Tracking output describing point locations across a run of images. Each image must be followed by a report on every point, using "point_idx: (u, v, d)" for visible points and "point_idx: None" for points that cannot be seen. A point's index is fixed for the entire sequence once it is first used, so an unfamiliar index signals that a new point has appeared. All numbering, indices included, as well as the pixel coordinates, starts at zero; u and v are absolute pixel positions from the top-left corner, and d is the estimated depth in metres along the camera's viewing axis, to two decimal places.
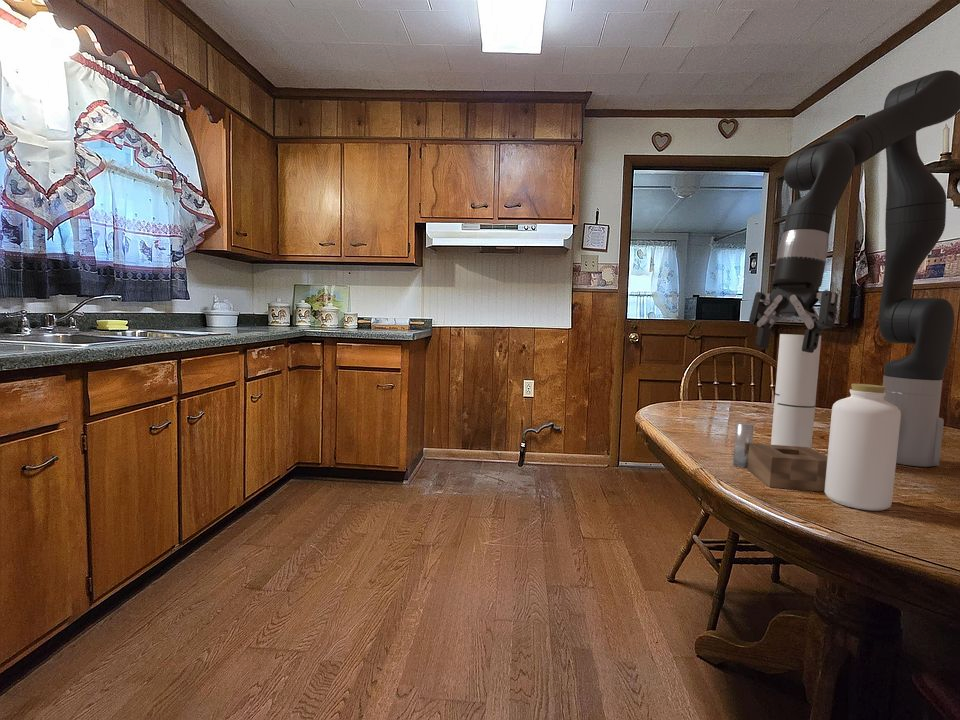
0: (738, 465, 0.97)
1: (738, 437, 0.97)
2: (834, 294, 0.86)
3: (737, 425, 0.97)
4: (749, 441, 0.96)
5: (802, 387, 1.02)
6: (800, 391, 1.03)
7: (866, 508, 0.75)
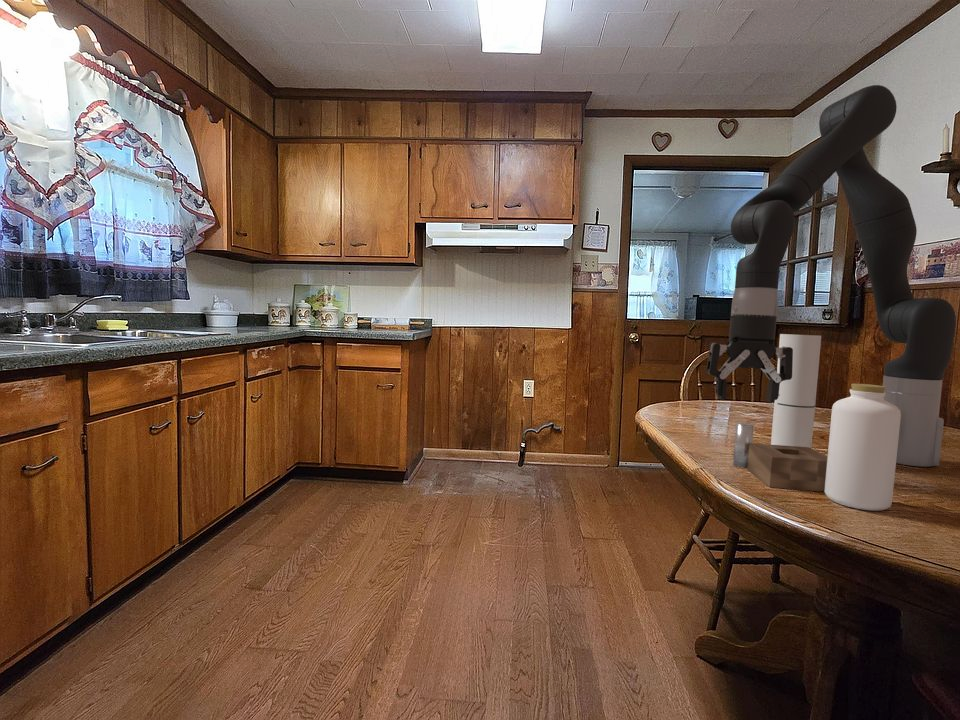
0: (738, 465, 0.97)
1: (738, 437, 0.97)
2: None
3: (737, 425, 0.97)
4: (749, 441, 0.96)
5: (802, 387, 1.02)
6: (800, 391, 1.03)
7: (866, 508, 0.75)
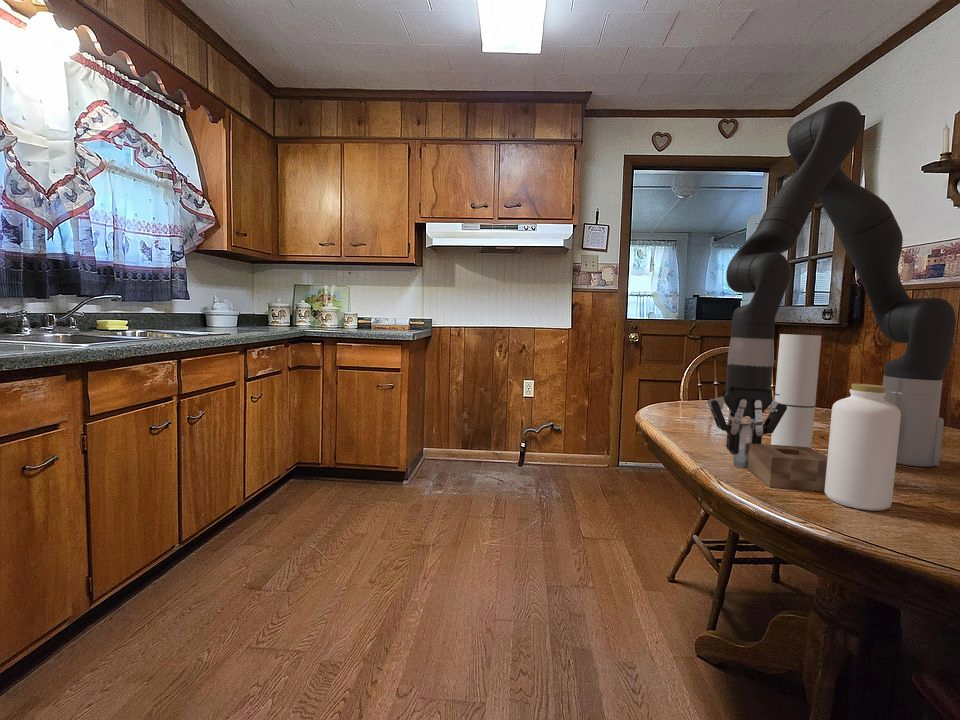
0: (738, 465, 0.97)
1: (738, 436, 0.97)
2: None
3: None
4: (749, 441, 0.96)
5: (802, 387, 1.02)
6: (800, 391, 1.03)
7: (866, 508, 0.75)
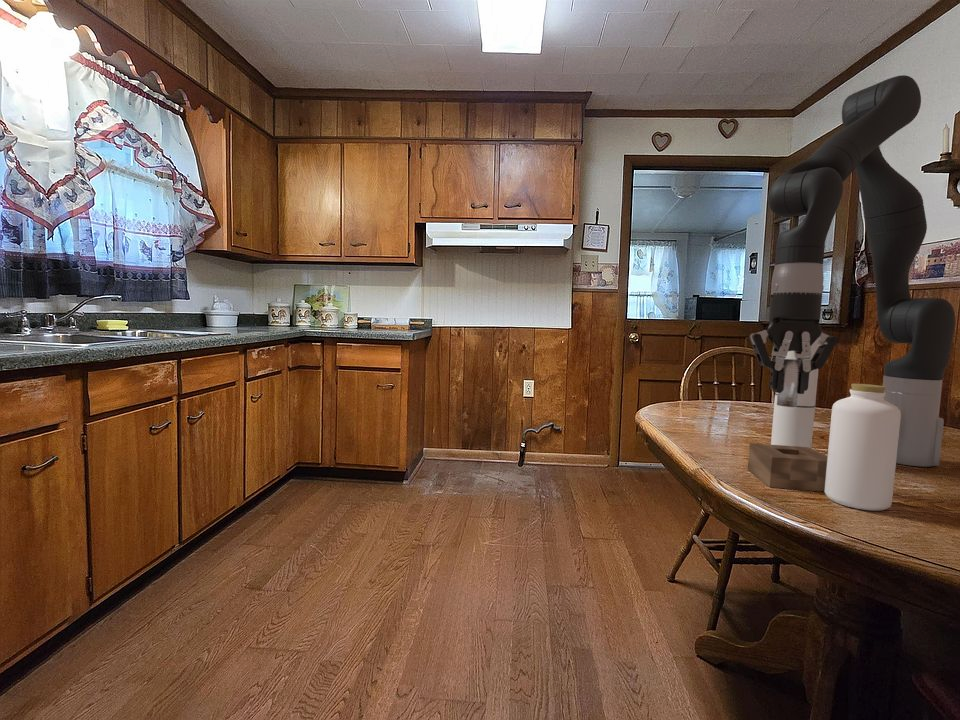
0: (783, 404, 0.89)
1: (783, 373, 0.89)
2: None
3: None
4: (795, 377, 0.88)
5: None
6: None
7: (866, 508, 0.75)
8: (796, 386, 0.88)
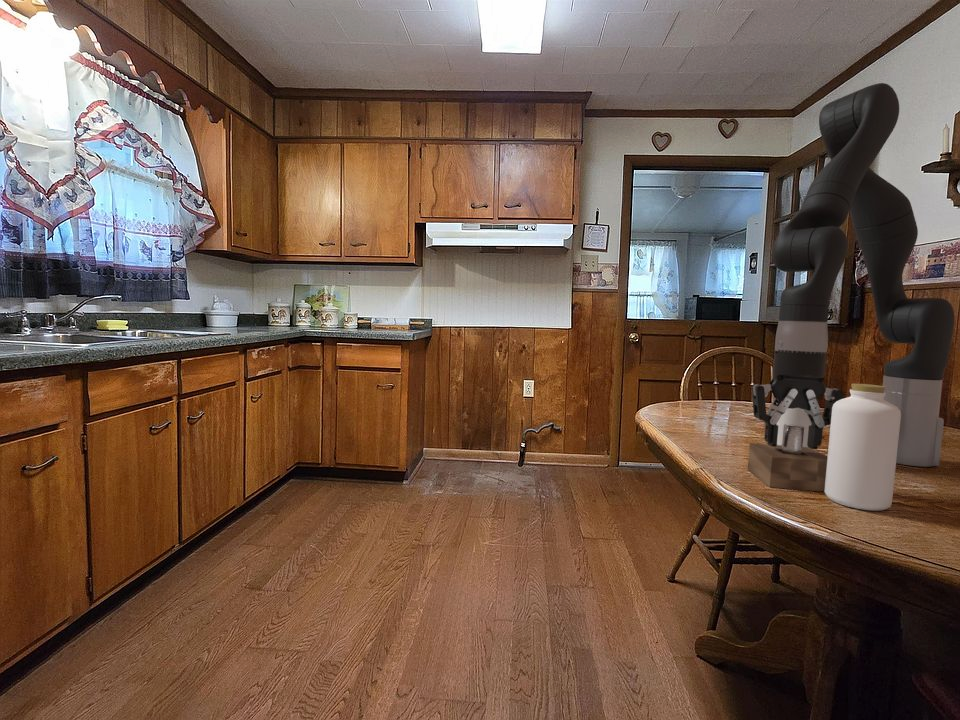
0: None
1: (786, 440, 0.88)
2: None
3: (785, 427, 0.89)
4: (799, 445, 0.88)
5: None
6: None
7: (866, 508, 0.75)
8: (799, 453, 0.88)
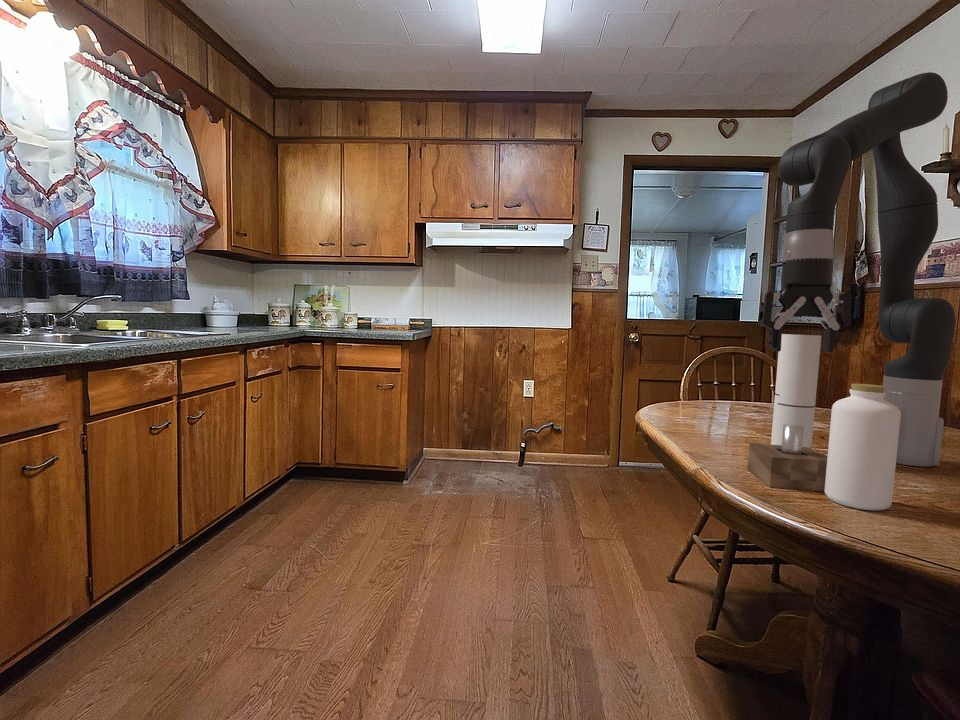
0: None
1: (786, 440, 0.88)
2: None
3: (785, 427, 0.89)
4: (799, 445, 0.88)
5: (802, 387, 1.02)
6: (800, 391, 1.03)
7: (866, 508, 0.75)
8: (799, 453, 0.88)
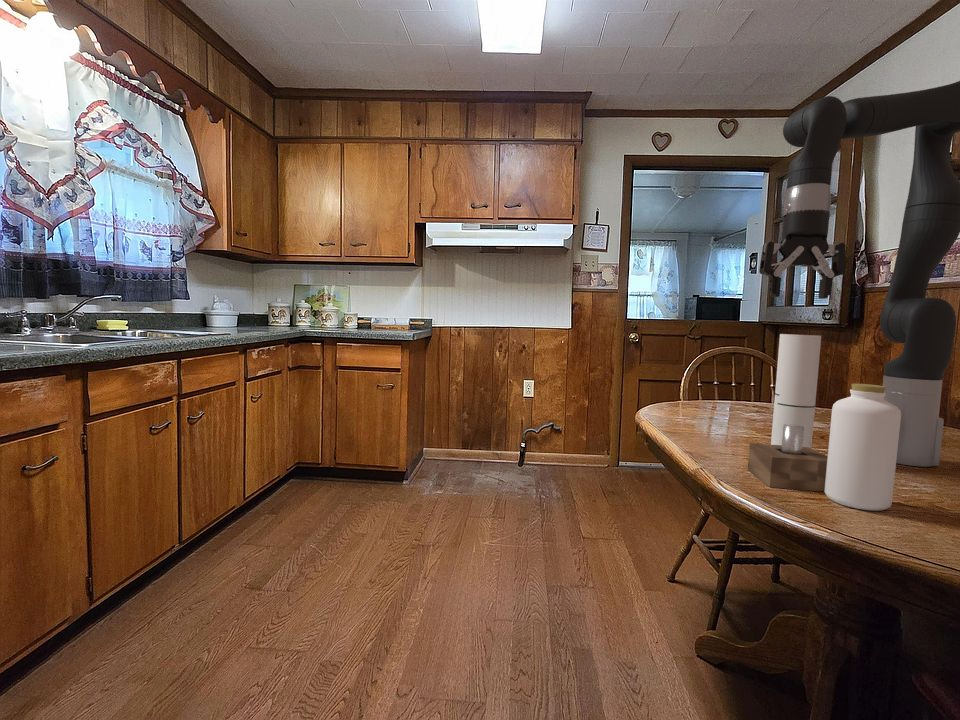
0: None
1: (786, 440, 0.88)
2: None
3: (785, 427, 0.89)
4: (799, 445, 0.87)
5: (802, 387, 1.02)
6: (800, 391, 1.03)
7: (866, 508, 0.75)
8: (799, 453, 0.88)
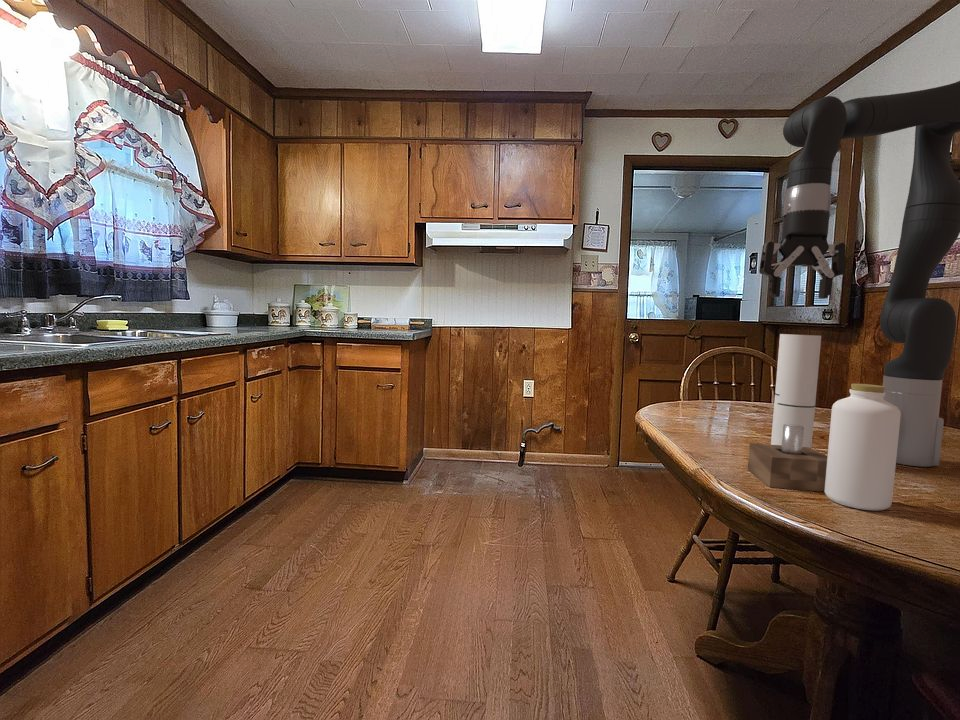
0: None
1: (786, 440, 0.88)
2: None
3: (785, 427, 0.89)
4: (799, 445, 0.88)
5: (802, 387, 1.02)
6: (800, 391, 1.03)
7: (866, 508, 0.75)
8: (799, 453, 0.88)
